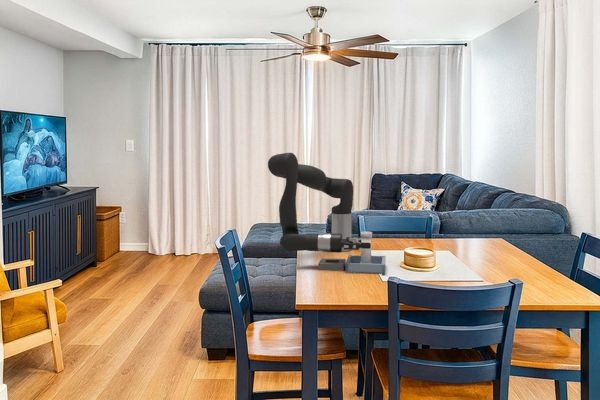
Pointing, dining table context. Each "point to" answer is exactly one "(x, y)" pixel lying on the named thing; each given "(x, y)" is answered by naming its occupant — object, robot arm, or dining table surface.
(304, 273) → the dining table surface
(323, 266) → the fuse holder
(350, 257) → the parts tray
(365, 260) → the fuse
